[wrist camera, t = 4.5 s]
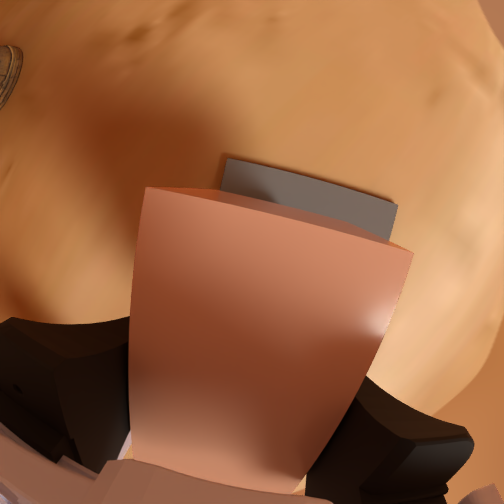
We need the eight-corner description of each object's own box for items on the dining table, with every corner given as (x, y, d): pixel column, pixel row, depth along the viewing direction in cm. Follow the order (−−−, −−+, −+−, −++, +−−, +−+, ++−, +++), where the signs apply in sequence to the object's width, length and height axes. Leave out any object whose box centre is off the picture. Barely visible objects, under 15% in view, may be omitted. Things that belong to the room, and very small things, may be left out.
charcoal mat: (177, 434, 24) (176, 438, 23) (228, 158, 18) (227, 157, 17) (289, 460, 23) (289, 463, 23) (395, 204, 17) (398, 205, 17)
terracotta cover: (177, 401, 13) (137, 485, 8) (213, 189, 11) (145, 186, 5) (275, 426, 13) (270, 518, 7) (347, 221, 11) (413, 253, 5)
